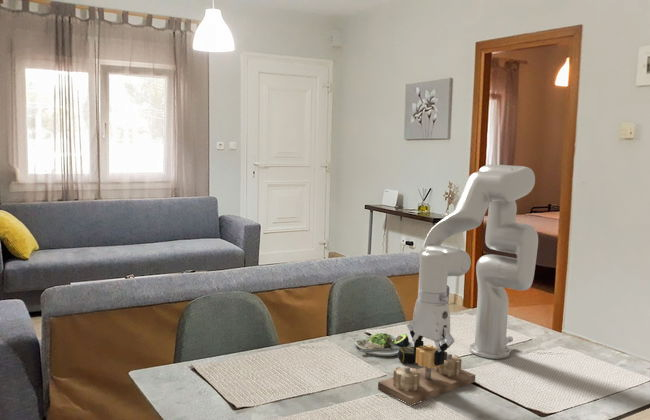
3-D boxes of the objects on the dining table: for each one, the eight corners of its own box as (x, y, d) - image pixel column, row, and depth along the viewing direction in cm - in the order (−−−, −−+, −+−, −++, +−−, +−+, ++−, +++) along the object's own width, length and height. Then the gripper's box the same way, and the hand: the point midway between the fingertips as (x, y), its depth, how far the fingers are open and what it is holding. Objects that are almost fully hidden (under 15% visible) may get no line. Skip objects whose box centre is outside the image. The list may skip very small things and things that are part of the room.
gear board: (442, 367, 172) (443, 341, 171) (475, 381, 163) (476, 354, 162) (377, 389, 156) (379, 360, 155) (410, 405, 147) (411, 375, 146)
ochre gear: (427, 356, 164) (428, 343, 163) (446, 364, 158) (447, 350, 158) (410, 362, 159) (411, 347, 159) (429, 370, 154) (430, 355, 154)
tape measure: (424, 365, 175) (425, 353, 174) (403, 367, 173) (404, 354, 172) (414, 356, 181) (414, 345, 181) (394, 358, 179) (394, 346, 179)
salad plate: (377, 365, 174) (378, 350, 174) (341, 347, 188) (341, 333, 188) (423, 352, 186) (423, 338, 185) (385, 336, 200) (385, 323, 199)
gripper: (466, 302, 152) (462, 367, 154) (417, 287, 166) (414, 348, 168) (448, 306, 148) (443, 373, 150) (399, 291, 161) (396, 353, 163)
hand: (428, 359), depth 159 cm, fingers closed on ochre gear, 6 cm apart
